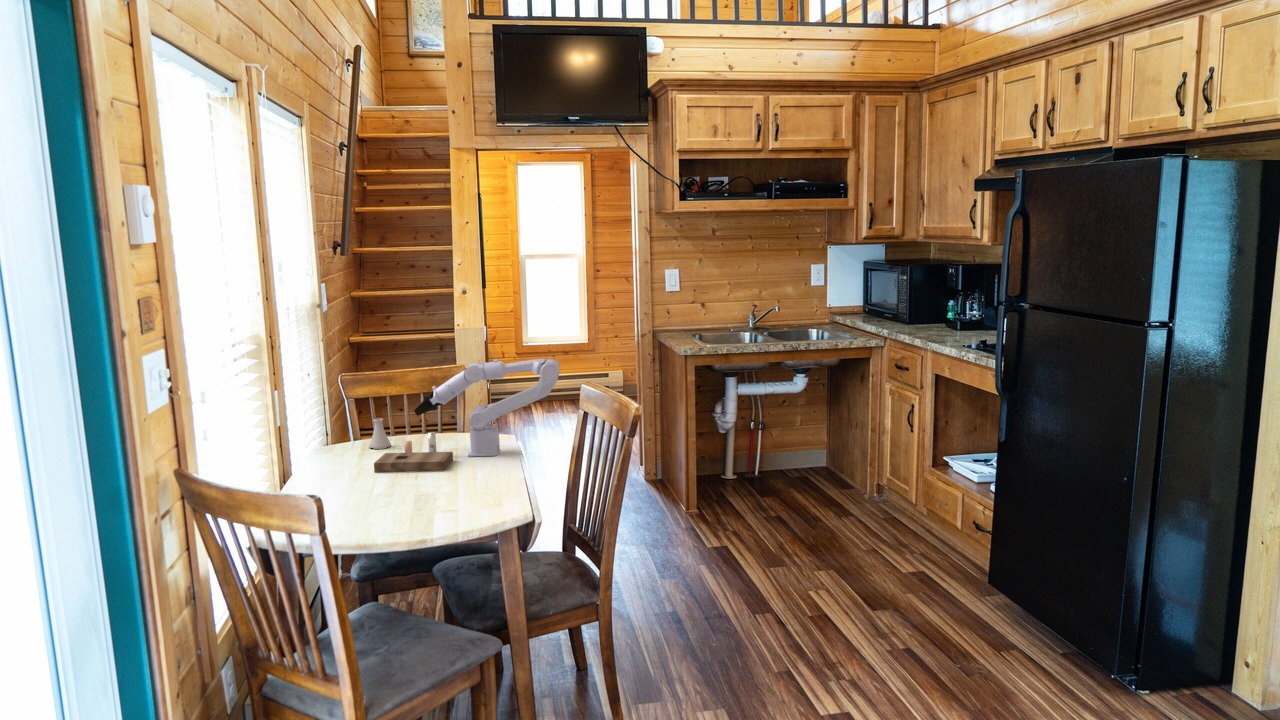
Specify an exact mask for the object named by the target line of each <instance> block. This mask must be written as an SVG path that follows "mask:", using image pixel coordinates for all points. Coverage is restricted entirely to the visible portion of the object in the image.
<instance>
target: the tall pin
mask: <svg viewBox="0 0 1280 720" xmlns="http://www.w3.org/2000/svg"><path fill="white" fill-rule="evenodd" d="M436 434H437V433H436V432H435V431H430V432H427V439H428V452H438V451H437V436H436Z"/></svg>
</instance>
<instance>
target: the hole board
mask: <svg viewBox="0 0 1280 720" xmlns="http://www.w3.org/2000/svg"><path fill="white" fill-rule="evenodd" d="M453 453H454V452H453V451H437V452H429V451H423V452H422V451H421V452H420V451H419V452H418V451H417V452H412V453H405V452H386V453H383V454H382V456H380V457H379V458H378V459H377V460H376V461H375V462H373V471H374V473H402V472H404V471H415V472H445V471H446V470H447V469H448V468H449V466H450V465H451V464H452V463H453V461H454V454H453ZM451 462H452V463H451ZM450 463H451V464H450ZM404 473H405V472H404Z"/></svg>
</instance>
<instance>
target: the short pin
mask: <svg viewBox="0 0 1280 720" xmlns="http://www.w3.org/2000/svg"><path fill="white" fill-rule="evenodd" d="M403 444H404V453H413V446H412V445H413V444H412V440H405V441H404V442H403Z"/></svg>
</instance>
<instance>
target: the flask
mask: <svg viewBox="0 0 1280 720" xmlns="http://www.w3.org/2000/svg"><path fill="white" fill-rule="evenodd" d="M372 421H373V424H374V428H373V433H372V436H371V440H370V444H369V446H368V449H371V448H373V449H372V450H383V449H388V448H390V447H391V446H392V443H391V442H390V439H389V438H388V435H387V433H386V431H385V428H384V425H383V424H384V423H383V421H384V418H375V419H372ZM390 445H391V446H390ZM389 446H390V447H389ZM387 447H388V448H387Z"/></svg>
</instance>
